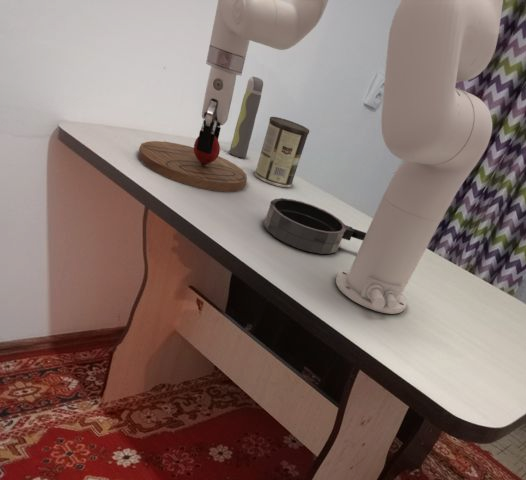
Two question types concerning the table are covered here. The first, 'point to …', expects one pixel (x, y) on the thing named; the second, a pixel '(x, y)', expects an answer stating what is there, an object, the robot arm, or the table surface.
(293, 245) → the pan
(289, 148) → the coffee can
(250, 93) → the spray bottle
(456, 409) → the table surface
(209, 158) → the onion
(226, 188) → the trivet
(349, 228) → the pan handle
